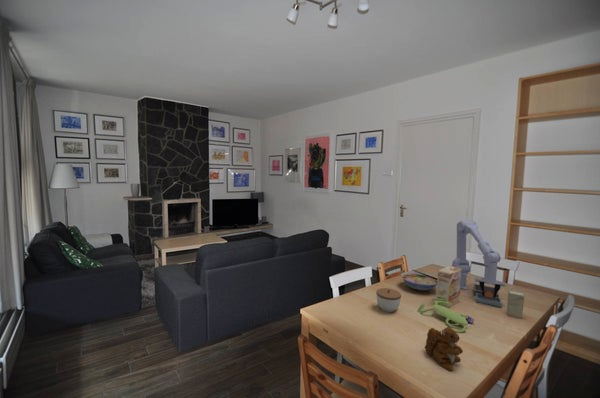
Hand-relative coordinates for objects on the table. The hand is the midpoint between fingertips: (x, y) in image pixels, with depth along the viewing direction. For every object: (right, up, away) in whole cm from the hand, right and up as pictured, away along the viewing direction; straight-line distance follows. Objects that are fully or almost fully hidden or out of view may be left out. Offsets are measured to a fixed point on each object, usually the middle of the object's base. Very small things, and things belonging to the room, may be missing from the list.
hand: (488, 296), depth 164 cm
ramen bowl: (-32, -2, +18) cm, 37 cm away
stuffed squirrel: (-53, -7, -51) cm, 74 cm away
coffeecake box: (-24, -4, -1) cm, 25 cm away
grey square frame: (+5, -3, +11) cm, 13 cm away
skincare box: (+4, -5, -15) cm, 16 cm away
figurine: (-34, -5, -18) cm, 39 cm away
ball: (0, +1, 0) cm, 1 cm away
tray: (0, -4, 0) cm, 4 cm away
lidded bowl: (-61, -4, -11) cm, 62 cm away
